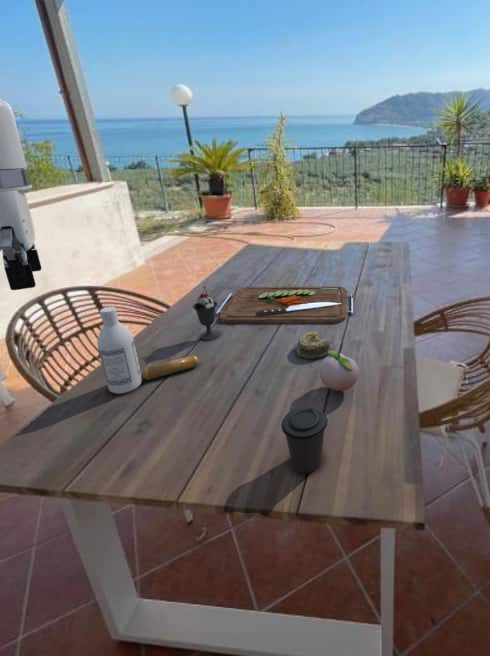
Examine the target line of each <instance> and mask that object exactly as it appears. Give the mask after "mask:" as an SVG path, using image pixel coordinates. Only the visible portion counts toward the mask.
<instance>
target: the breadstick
mask: <svg viewBox="0 0 490 656" xmlns="http://www.w3.org/2000/svg"><path fill="white" fill-rule="evenodd" d="M199 361H200V359H199V357H198V356H197V355H189V356H185V357H181V358H177V359H174V360H170V361H166V362H163V363H159V364H155V365H151V366H148V367H145V368H144V369H143V370H142V371H141V376H142V380H143V379H144V380H145V381H150V380H154V379H157V378H161V377H164V376H168V375H171V374H175V373H178V372H182V371H185V370H189V369H193V368H196V367H197V366H198V365H199V363H200V362H199Z"/></svg>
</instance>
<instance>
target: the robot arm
mask: <svg viewBox="0 0 490 656" xmlns="http://www.w3.org/2000/svg"><path fill="white" fill-rule="evenodd" d="M28 169H29V168H28V165H27V162H26V157H25V153H24V150H23V146H22V141H21V137H20V133H19V130H18V126H17V121H16V118H15V114H14V111H13V108H12V106H11V105H10V103H9V102H7V101H5V100H4V99H1V98H0V252H2V261H3V266H4V271H5V275H6V278H7V282H8V286H9V288H10V290H11V291H20V290H25V289H33V288H35V287H36V285H37V283H36V280H35V275H34V273H33V272H40V271H42V264H41V261H40V256H39V252H38V249H37V248H36V244H35V241H36V232H35V226H34V223H33V218H32V213H31V210H30V207H29V202H28V199H27V195H26V190H31V189H33V185H32V182H31V177H30V173H29V170H28Z"/></svg>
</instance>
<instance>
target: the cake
mask: <svg viewBox="0 0 490 656" xmlns="http://www.w3.org/2000/svg"><path fill="white" fill-rule="evenodd" d="M319 337H320V336H319V333H318V331H309V332H305V333H303V334H302V335H301V336H300V337H299V338H298V341H297V344H296V345H297V348H296V354H297V355H298V357H300V358H304V359H307V360H315V359H319V358H323V357H326V356H328V355H329V354H328V353H327V352H328V351H333V345H332V343H331V340H330V339H326V338H322V339H320V338H319Z"/></svg>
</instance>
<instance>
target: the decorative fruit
mask: <svg viewBox="0 0 490 656" xmlns="http://www.w3.org/2000/svg"><path fill="white" fill-rule="evenodd" d="M327 353H328V354H327V355H326V356H325V358H323V360H322V361H321V363H320V365H319V368H318V369H319V370H318V372H319V373H318V374H319V378H320V380H321V382H322V383H323V385H324V386H325V387H326V388H327V389H330V390H333V391H336V392H345V391H348V390H350V389H351V388H352V387H353V386H354V385H355V384H357V383H356V382H357V381H358V379H359V377H360V368H359V366H358V363H357V362H356V361H355V360H354V359H353V358H351V357H349V356H345V355H344V354H343V353H341V352H339V351H337V350H331V351H328V352H327Z"/></svg>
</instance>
